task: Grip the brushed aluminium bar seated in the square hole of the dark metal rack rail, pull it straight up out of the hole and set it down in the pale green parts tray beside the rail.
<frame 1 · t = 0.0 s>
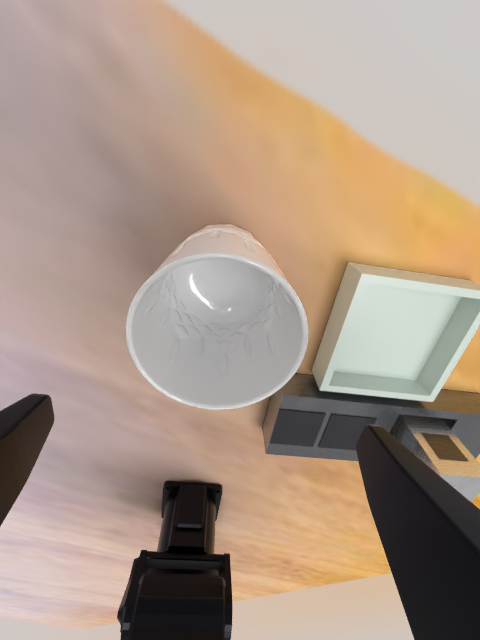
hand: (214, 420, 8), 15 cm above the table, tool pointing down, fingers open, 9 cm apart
rack rail: (369, 410, 29), on the table
white cup: (222, 269, 22), on the table
parts tray: (385, 328, 24), on the table
brushed aluminium bar: (398, 413, 29), resting in rack rail
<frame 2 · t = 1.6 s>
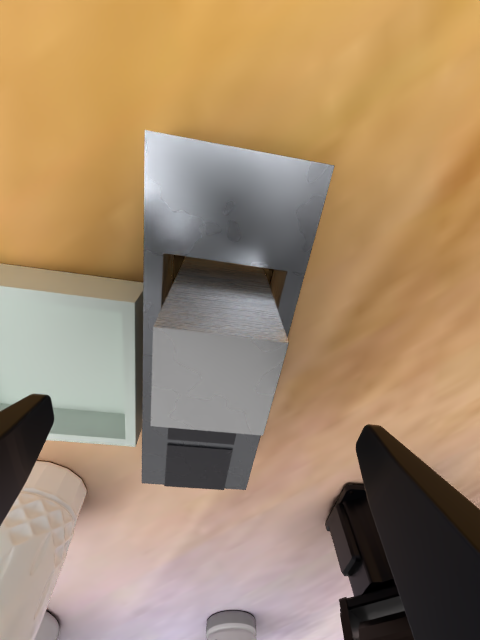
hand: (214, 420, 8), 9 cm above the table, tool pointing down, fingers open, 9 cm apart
cylinder vase: (8, 617, 36), on the table
rack rail: (214, 337, 18), on the table
white cup: (46, 483, 24), on the table
parts tray: (63, 348, 18), on the table
travel mug: (229, 618, 38), on the table
brushed aluminium bar: (220, 292, 17), resting in rack rail
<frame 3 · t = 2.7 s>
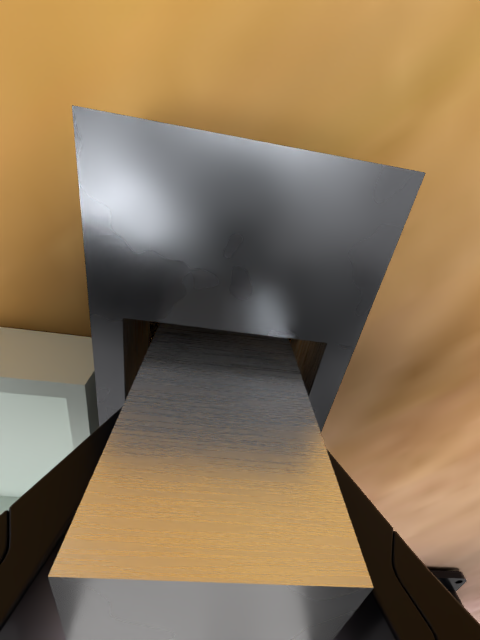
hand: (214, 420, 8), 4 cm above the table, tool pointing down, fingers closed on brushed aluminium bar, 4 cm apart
rack rail: (210, 408, 13), on the table
parts tray: (1, 422, 13), on the table
brushed aluminium bar: (219, 351, 12), resting in rack rail, touching gripper
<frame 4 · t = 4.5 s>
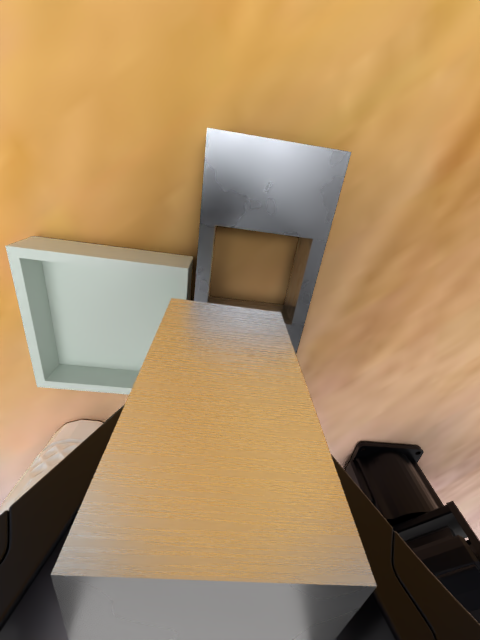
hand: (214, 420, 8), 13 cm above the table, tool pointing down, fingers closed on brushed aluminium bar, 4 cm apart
rack rail: (246, 304, 21), on the table
white cup: (94, 443, 28), on the table
parts tray: (118, 315, 21), on the table
brushed aluminium bar: (220, 350, 12), point 10 cm above the table, touching gripper
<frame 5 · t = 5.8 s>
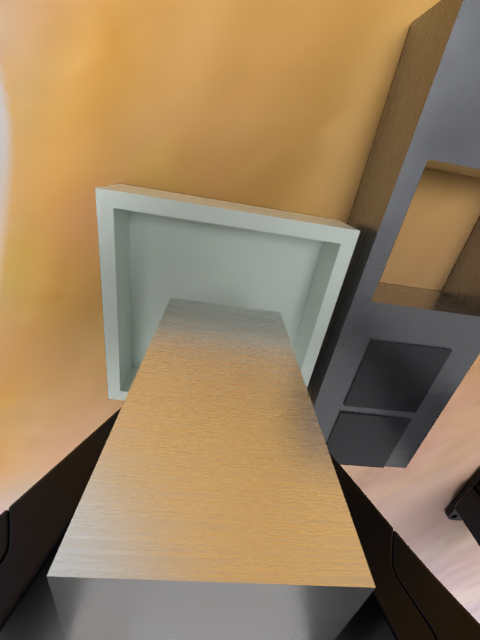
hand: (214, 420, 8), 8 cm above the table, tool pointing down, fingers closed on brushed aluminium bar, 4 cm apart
rack rail: (392, 290, 16), on the table
parts tray: (219, 302, 16), on the table
brushed aluminium bar: (219, 350, 12), point 5 cm above the table, touching gripper
when the fingers open (5 cm above the table, at t = 6.6 s): brushed aluminium bar drops 1 cm, resting on parts tray.
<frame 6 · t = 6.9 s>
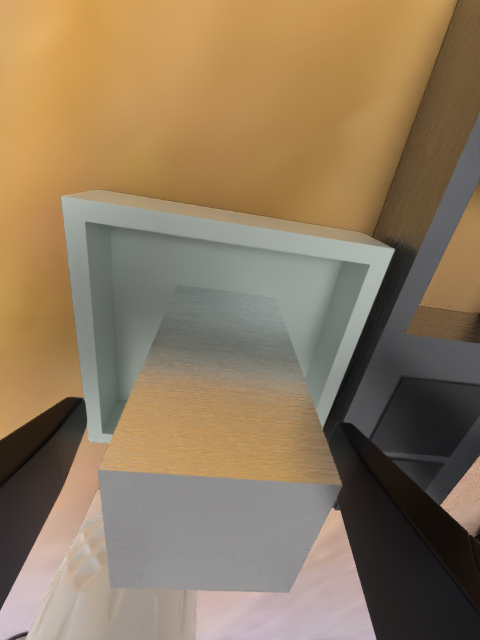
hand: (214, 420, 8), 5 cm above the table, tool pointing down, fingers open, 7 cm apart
rack rail: (422, 313, 13), on the table
white cup: (148, 501, 20), on the table
parts tray: (219, 327, 13), on the table
brushed aluminium bar: (221, 333, 13), point 1 cm above the table, touching parts tray
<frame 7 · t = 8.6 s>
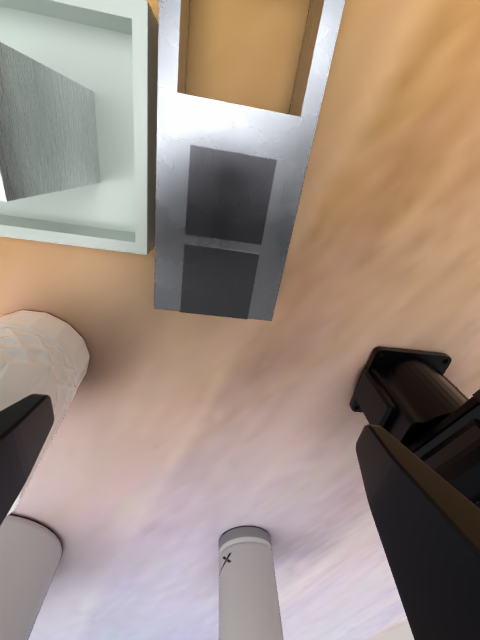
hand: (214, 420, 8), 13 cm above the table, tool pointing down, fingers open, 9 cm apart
cylinder vase: (6, 539, 33), on the table
rack rail: (236, 121, 15), on the table
white cup: (43, 348, 22), on the table
parts tray: (59, 134, 15), on the table
travel mug: (243, 537, 36), on the table
brushed aluminium bar: (55, 133, 15), point 1 cm above the table, touching parts tray
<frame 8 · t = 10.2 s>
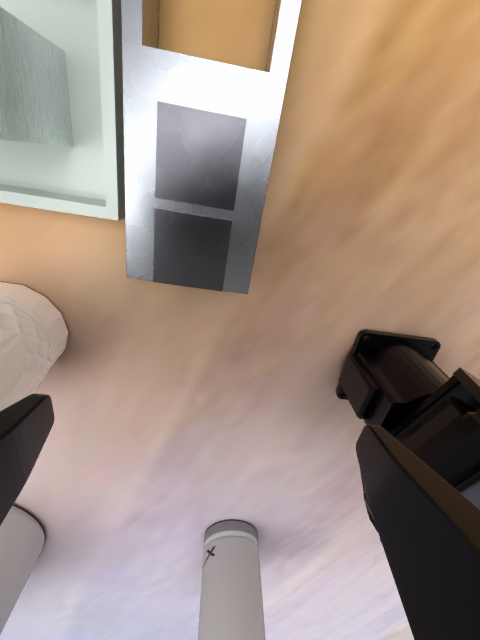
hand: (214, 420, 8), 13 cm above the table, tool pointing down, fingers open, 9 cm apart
rack rail: (210, 85, 15), on the table
white cup: (22, 323, 21), on the table
parts tray: (32, 97, 15), on the table
travel mug: (229, 532, 35), on the table
brushed aluminium bar: (27, 94, 15), point 1 cm above the table, touching parts tray
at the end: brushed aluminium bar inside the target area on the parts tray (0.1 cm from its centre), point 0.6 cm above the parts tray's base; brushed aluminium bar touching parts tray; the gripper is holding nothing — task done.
